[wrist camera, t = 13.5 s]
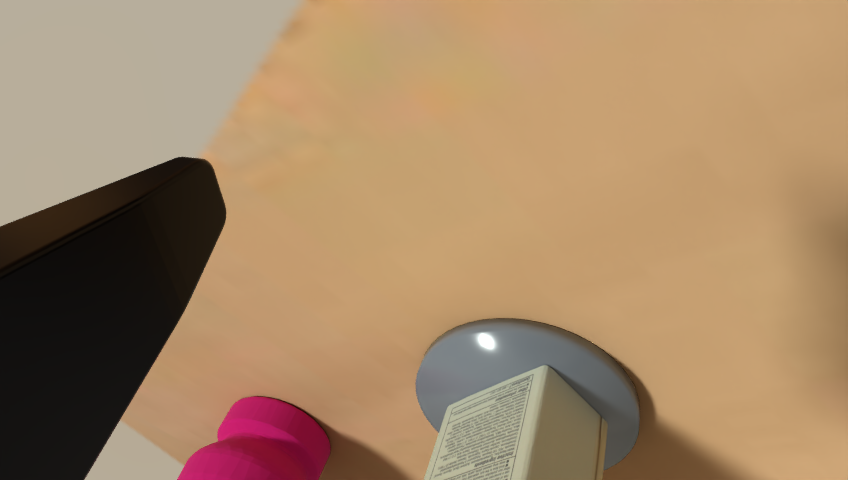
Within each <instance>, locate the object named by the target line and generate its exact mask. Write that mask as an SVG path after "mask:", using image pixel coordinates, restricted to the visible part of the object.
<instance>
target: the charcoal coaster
mask: <svg viewBox="0 0 848 480" xmlns="http://www.w3.org/2000/svg"><path fill="white" fill-rule="evenodd" d="M543 365H547V366H549V367H551V368H552V369H553V370H554V371H555V372H556V373H557V374H558V375H559V376H560V377H561V378H562V379H563V380H564V381H565V382H567V383H568V384H569V385H570V386H571V387H572V388H573V389H574V390H575V391H576V392H577V393H578V394H579V395H580V396H581V397H582V398H583V399H584V400H585V401H586V402H587V403H588V404H589V405H590V406H591V407H592V408H593V409H594V410H595V411H596V412H597V413H598V414H599V415H600V416H601V417H602V418H603V419H604V420H605V421H606V422H607V424H608V428H607V439H606V449H605V459H604V470H606V469H608V468H610V467H612V466H614V465H615V464H617V463H618V462H620V461H621V460H622V459H623V458H625V456H626V455H627V454H628V453H629V452H630V451H631V449H632V448H633V446H634V444H635V443H636V440H637V437H638V433H639V420H640V404H639V398H638V395H637V392H636V389H635V387H634V385H633V383H632V381H631V379H630V378H629V376H628V375H627V374H626V372H625V371H624V370H623V368H622V367H621V366H620V365H619V364H618V363H617V362H616V361H615V360H614V359H613V358H612V357H610V356H609V355H608V354H607V353H605V352H604V351H603V350H602V349H600V348H598V347H597V346H595V345H594V344H592V343H591V342H589V341H587V340H585V339H583V338H581V337H579V336H577V335H575V334H573V333H571V332H568V331H566V330H563V329H561V328H558V327H554V326H551V325H547V324H544V323H539V322H534V321H529V320H521V319H507V318H496V319H485V320H478V321H474V322H469V323H466V324H463V325H460V326H457V327H455V328H453V329H451V330H449V331H447V332H445V333H444V334H442V335H441V336H440V337H438V338H437V339H436V340H435V341H434V342H433V343H432V344H431V345H430V347H429V348H428V350H427V351H426V353H425V355H424V358H423V360H422V363H421V365H420V368H419V371H418V373H417V378H416V394H417V399H418V402H419V405H420V407H421V409H422V411H423V413H424V415H425V416H426V418H427V420H428V421H429V422H430V423H431V425H432V426H433V427H434V428H435V429H436V430H437V431H438V433H439V431H440V428H441V425H442V422H443V419H444V416H445V413H446V410H447V407H448V406H449V405H451V404H453V403H456V402H458V401H460V400H462V399H464V398H466V397H468V396H470V395H473V394H475V393H477V392H480V391H482V390H485V389H487V388H490V387H492V386H494V385H496V384H499V383H501V382H503V381H506V380H508V379H510V378H513V377H515V376H518V375H520V374H523V373H525V372H528V371H530V370H533V369H535V368H538V367H540V366H543Z"/></svg>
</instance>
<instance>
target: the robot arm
mask: <svg viewBox="0 0 848 480" xmlns="http://www.w3.org/2000/svg"><path fill="white" fill-rule="evenodd" d="M225 220H226V207H225V203H224V200H223V197H222V194H221V191H220V187H219V184H218V181H217V178H216V175H215V172H214V169H213V167H212V165H211V164H210V163H209V162H208V161H207V160H205V159H199V158H189V157H178V158H174V159H172V160H169V161H167V162H164V163H162V164H159V165H157V166H154V167H151V168H149V169H146V170H144V171H141V172H139V173H136V174H134V175H131V176H128V177H126V178H123V179H121V180H118V181H116V182H113V183H111V184H108V185H105V186H103V187H101V188H98V189H95V190H93V191H90V192H88V193H85V194H82V195H80V196H77V197H75V198H72V199H70V200H67V201H64V202H62V203H59V204H57V205H54V206H52V207H49V208H46V209H44V210H41V211H39V212H36V213H34V214H31V215H29V216H26V217H23V218H21V219H18V220H16V221H13V222H11V223H8V224H6V225H3V226H1V227H0V480H84V479H85V477H86V476H87V474H88V473H89V471H90V469H91V468H92V466H93V464H94V462H95V461H96V459H97V457H98V456H99V454H100V452H101V451H102V449H103V447H104V446H105V444H106V442H107V440H108V439H109V437H110V436H111V434H112V432H113V431H114V429H115V427H116V426H117V424H118V422H119V421H120V419H121V417H122V416H123V414H124V412H125V411H126V409H127V407H128V406H129V404H130V402H131V401H132V399H133V397H134V395H135V394H136V392H137V390H138V389H139V387H140V385H141V384H142V382H143V380H144V379H145V377H146V375H147V374H148V372H149V370H150V369H151V367H152V365H153V364H154V362H155V360H156V359H157V357H158V355H159V354H160V352H161V350H162V349H163V347H164V345H165V344H166V342H167V340H168V338H169V337H170V335H171V333H172V332H173V330H174V328H175V327H176V325H177V323H178V321H179V320H180V318H181V316H182V314H183V313H184V311H185V309H186V307H187V305H188V303H189V301H190V299H191V297H192V294H193V292H194V290H195V288H196V286H197V284H198V281H199V279H200V277H201V275H202V273H203V270H204V268H205V266H206V264H207V262H208V260H209V257H210V255H211V253H212V251H213V249H214V247H215V244H216V242H217V240H218V238H219V236H220V234H221V231H222V229H223V227H224V224H225Z"/></svg>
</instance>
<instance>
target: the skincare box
mask: <svg viewBox="0 0 848 480" xmlns="http://www.w3.org/2000/svg"><path fill="white" fill-rule="evenodd" d="M607 428H608V424H607V422H606V421H605V420H604V419H603V418H602V417H601V416H600V415H599V414H598V413H597V412H596V411H595V410H594V409H593V408H592V407H591V406H590V405H589V404H588V403H587V402H586V401H585V400H584V399H583V398H582V397H581V396H580V395H579V394H578V393H577V392H576V391H575V390H574V389H573V388H572V387H571V386H570V385H569V384H568V383H567V382H565V381H564V380H563V379H562V378H561V377H560V376H559V375H558V374H557V373H556V372H555V371H554V370H553V369H552V368H551V367H549V366H547V365H543V366H540V367H538V368H535V369H533V370H530V371H528V372H525V373H523V374H520V375H518V376H515V377H513V378H510V379H508V380H506V381H503V382H501V383H499V384H496V385H494V386H492V387H490V388H487V389H485V390H482V391H480V392H477V393H475V394H473V395H470V396H468V397H466V398H464V399H462V400H460V401H458V402H456V403H453V404H451V405H449V406H448V407H447V410H446V413H445V416H444V419H443V422H442V425H441V428H440V431H439V434H438V437H437V440H436V443H435V447H434V450H433V453H432V456H431V459H430V462H429V465H428V468H427V471H426V474H425V477H424V480H603V470H604V459H605V449H606V439H607Z"/></svg>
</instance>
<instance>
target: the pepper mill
mask: <svg viewBox="0 0 848 480" xmlns="http://www.w3.org/2000/svg"><path fill="white" fill-rule="evenodd" d="M217 437H218V442H216V443H212V444H210V445H208V446H205V447H203V448H201V449H199V450H198V451H197V452H195V453H194V454H193V455H192V456H191V457H190V458H189V459H188V461H187V463H186V464H185V466H184V468H183V470H182V472H181V474H180V476H179V477H178V479H177V480H318V479H319V477H320V475H321V473H322V470H323V468H324V466H325V464H326V462H327V459H328V457H329V455H330V450H331V449H330V443H329V439H328V437H327V435H326V434H325V432H324V430H323V429H322V428H321V427H320V426H319V424H318V423H317V422H316V421H315V420H313V419H312V418H311V417H310V416H309V415H307V414H306V413H304V412H303V411H301V410H299V409H297V408H296V407H294V406H292V405H290V404H288V403H285V402H283V401H280V400H277V399H272V398H268V397H257V396H254V397H248V398H243V399H241V400H239V401H237V402H236V403H235V404H234V405H233V406H232V407H231V409H230V411H229V412H228V414H227V416H226V417H225V419H224V420H223V422H222V424H221V425H220V427H219V429H218V436H217Z"/></svg>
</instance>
